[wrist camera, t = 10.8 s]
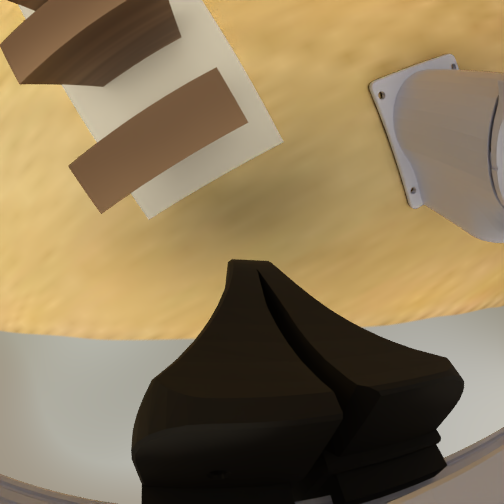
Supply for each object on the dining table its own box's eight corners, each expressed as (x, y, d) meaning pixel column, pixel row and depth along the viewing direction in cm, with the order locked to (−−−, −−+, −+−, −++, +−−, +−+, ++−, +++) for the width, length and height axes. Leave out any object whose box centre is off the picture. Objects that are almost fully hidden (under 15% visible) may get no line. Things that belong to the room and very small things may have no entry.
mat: (281, 140, 18) (283, 142, 17) (150, 216, 19) (148, 219, 18) (113, -114, 7) (112, -118, 7) (1, -39, 8) (-3, -41, 8)
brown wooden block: (181, 37, 14) (161, -20, 6) (103, 86, 14) (19, 84, 6) (166, 13, 13) (135, -57, 5) (88, 62, 14) (-1, 45, 6)
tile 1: (226, 111, 16) (248, 122, 8) (147, 158, 17) (101, 214, 9) (209, 83, 15) (216, 67, 7) (131, 132, 16) (68, 165, 8)
